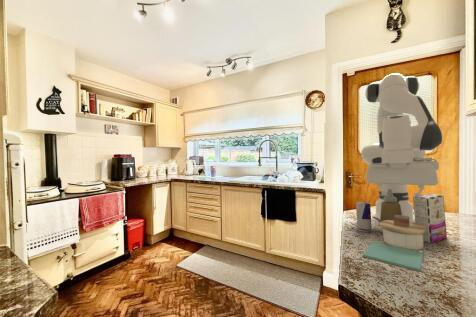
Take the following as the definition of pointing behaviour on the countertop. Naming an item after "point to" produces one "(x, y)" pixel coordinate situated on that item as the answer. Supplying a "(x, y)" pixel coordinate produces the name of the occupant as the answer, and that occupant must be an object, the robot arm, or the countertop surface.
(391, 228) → the oak lid
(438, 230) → the candy bar box
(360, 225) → the energy drink
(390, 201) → the squeeze bottle
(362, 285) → the countertop surface
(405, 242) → the ceramic bowl
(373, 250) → the rubber mat
